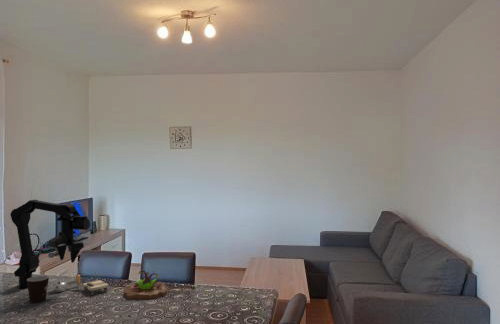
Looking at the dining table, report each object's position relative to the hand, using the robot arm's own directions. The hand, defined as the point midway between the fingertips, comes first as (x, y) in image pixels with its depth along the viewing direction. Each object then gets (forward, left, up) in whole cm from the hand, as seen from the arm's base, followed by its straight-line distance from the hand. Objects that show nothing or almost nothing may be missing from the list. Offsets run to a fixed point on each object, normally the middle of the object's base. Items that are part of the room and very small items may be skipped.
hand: (67, 261), depth 181 cm
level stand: (+12, +6, -13) cm, 19 cm away
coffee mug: (+8, -14, -14) cm, 21 cm away
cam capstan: (+2, -1, -13) cm, 13 cm away
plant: (+33, +24, -14) cm, 43 cm away
